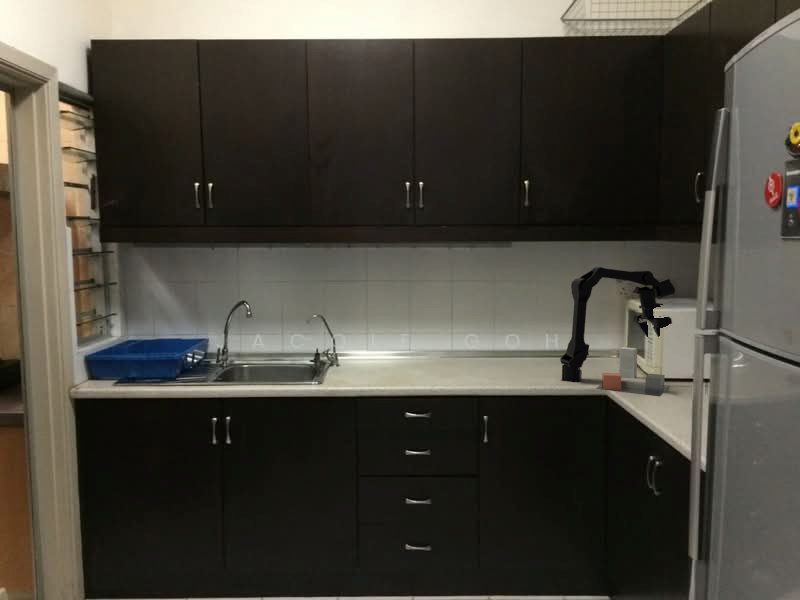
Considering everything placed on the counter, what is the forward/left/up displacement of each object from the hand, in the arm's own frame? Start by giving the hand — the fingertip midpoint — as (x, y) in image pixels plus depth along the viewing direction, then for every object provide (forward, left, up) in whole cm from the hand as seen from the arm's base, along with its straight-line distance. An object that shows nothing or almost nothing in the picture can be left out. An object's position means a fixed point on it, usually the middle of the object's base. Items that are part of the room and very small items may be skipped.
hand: (655, 340), depth 250 cm
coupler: (-3, -22, -15) cm, 27 cm away
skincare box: (-9, -3, -16) cm, 19 cm away
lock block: (-10, -28, -15) cm, 33 cm away
